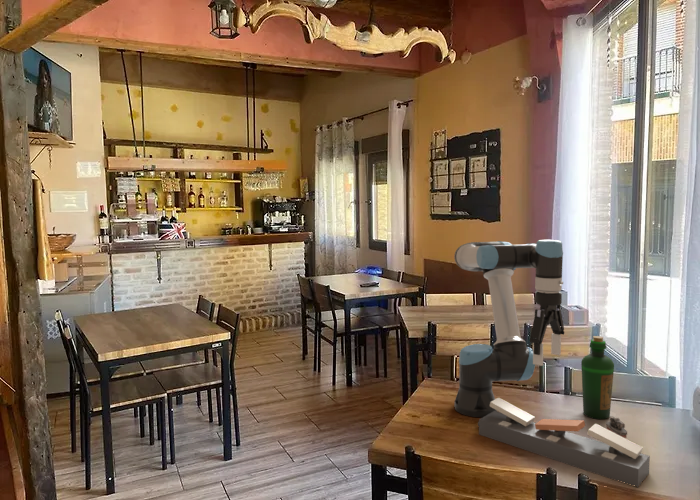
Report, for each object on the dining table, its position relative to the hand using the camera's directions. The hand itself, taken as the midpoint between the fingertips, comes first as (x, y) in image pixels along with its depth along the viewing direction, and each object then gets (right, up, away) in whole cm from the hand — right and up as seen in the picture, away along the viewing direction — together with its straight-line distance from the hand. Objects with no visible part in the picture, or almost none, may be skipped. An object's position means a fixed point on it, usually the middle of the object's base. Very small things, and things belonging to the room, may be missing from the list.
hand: (547, 359), depth 158 cm
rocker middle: (+3, -19, -3) cm, 20 cm away
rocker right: (+14, -20, -13) cm, 28 cm away
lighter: (+20, -27, -3) cm, 34 cm away
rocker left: (-8, -19, +8) cm, 22 cm away
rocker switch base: (+1, -27, -2) cm, 27 cm away
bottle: (+27, -25, +24) cm, 44 cm away
